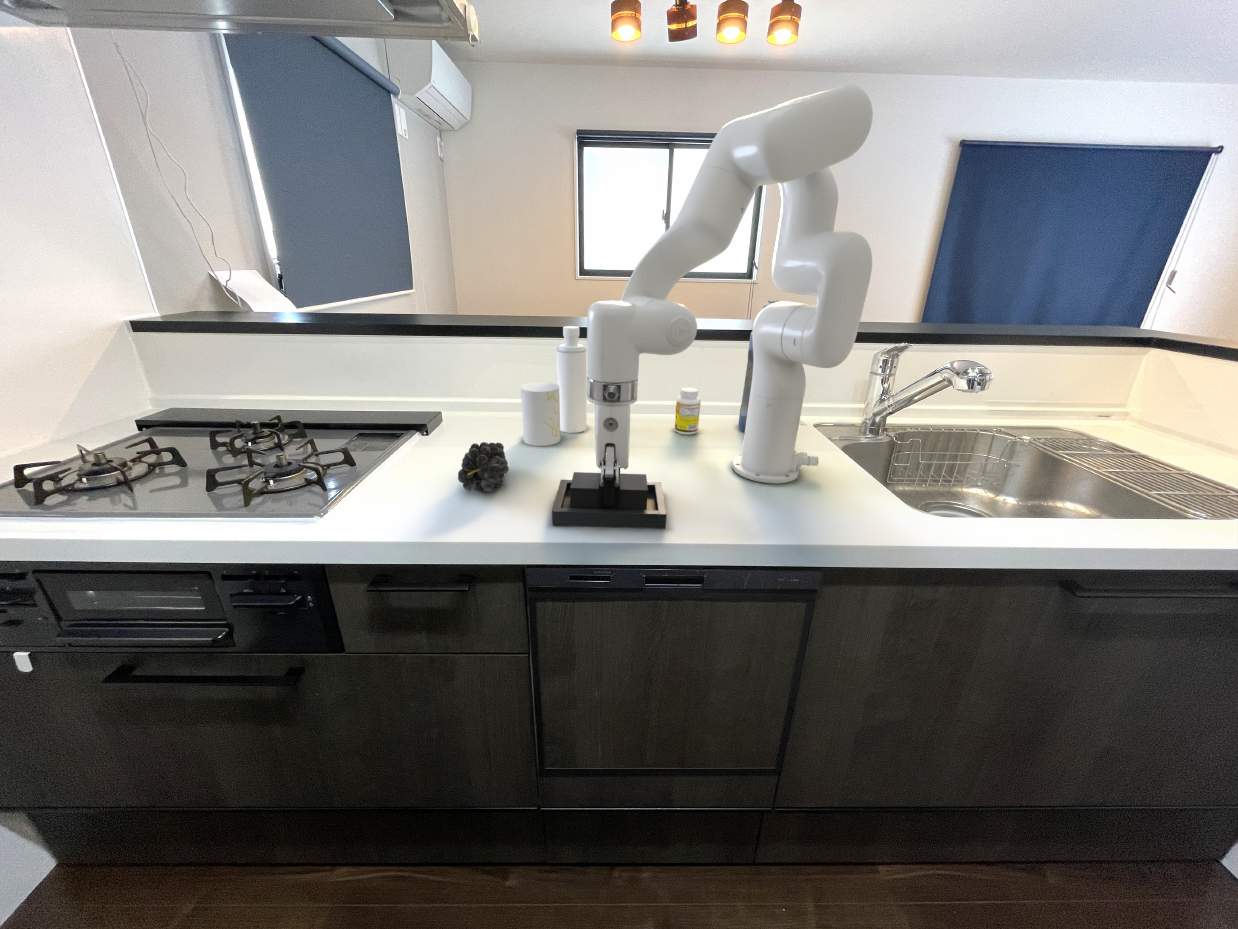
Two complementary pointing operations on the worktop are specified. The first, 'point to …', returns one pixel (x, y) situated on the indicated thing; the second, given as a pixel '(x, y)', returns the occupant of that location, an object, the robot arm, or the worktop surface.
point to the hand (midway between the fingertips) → (609, 497)
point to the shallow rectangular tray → (610, 511)
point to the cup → (541, 413)
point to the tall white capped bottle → (572, 382)
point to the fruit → (483, 467)
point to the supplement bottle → (687, 411)
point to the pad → (587, 491)
